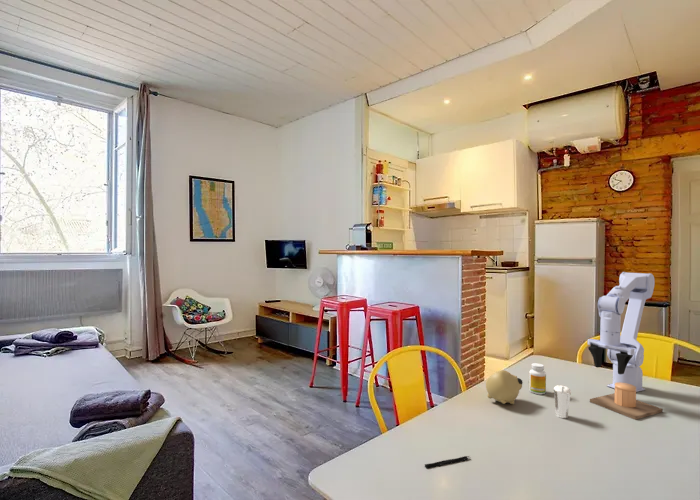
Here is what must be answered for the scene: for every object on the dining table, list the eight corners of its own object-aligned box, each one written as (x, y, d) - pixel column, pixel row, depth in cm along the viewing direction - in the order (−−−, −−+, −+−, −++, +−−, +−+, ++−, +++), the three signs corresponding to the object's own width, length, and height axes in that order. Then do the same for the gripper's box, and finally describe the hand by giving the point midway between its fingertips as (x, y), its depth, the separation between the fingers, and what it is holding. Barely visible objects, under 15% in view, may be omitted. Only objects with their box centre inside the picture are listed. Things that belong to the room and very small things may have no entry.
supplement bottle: (548, 395, 132) (549, 367, 132) (533, 394, 132) (533, 367, 132) (541, 389, 137) (541, 362, 137) (526, 388, 137) (526, 362, 137)
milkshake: (553, 418, 114) (554, 385, 114) (553, 411, 119) (553, 379, 118) (570, 421, 112) (571, 388, 112) (569, 414, 116) (570, 382, 116)
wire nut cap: (621, 399, 127) (621, 381, 127) (639, 405, 121) (640, 387, 121) (610, 401, 124) (610, 383, 124) (628, 408, 119) (629, 389, 119)
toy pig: (528, 403, 125) (528, 371, 125) (506, 411, 118) (506, 377, 118) (501, 393, 133) (502, 363, 133) (479, 400, 126) (480, 368, 126)
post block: (615, 395, 132) (616, 381, 132) (662, 412, 119) (662, 396, 119) (589, 401, 126) (590, 387, 126) (635, 419, 114) (635, 403, 114)
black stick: (468, 458, 92) (468, 454, 92) (471, 460, 91) (471, 456, 91) (424, 467, 88) (424, 463, 88) (426, 470, 87) (426, 465, 87)
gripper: (582, 327, 135) (581, 365, 135) (625, 336, 122) (624, 378, 122) (594, 326, 138) (594, 363, 138) (638, 334, 125) (637, 375, 125)
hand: (609, 370), depth 130 cm, fingers open, 7 cm apart
